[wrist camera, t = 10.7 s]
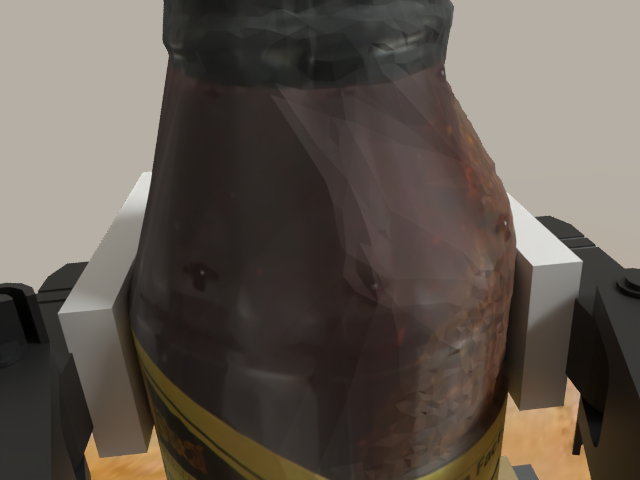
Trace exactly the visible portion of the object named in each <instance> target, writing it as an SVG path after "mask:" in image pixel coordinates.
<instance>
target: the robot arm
mask: <svg viewBox="0 0 640 480" xmlns="http://www.w3.org/2000/svg"><path fill="white" fill-rule="evenodd" d="M151 176H152V172H143V173H142V175H141V177H140V178H139V180H138V182H137V183H136V185H135V187H134V188H133V190H132V191H131V193H130V195H129V196H128V198H127V200H126V202H125V203H124V205H123V206H122V208H121V210H120V212H119V213H118V215H117V217H116V218H115V220H114V221H113V223H112V225H111V226H110V228H109V230H108V231H107V233H106V235H105V236H104V238H103V240H102V241H101V243H100V245H99V246H98V248H97V250H96V251H95V253H94V254H93V256H92V258H91V259H90V261H89V262H80V263H69V264H66V265H65V266H63V267H62V268H60V269H59V270H57V271H56V272H54V273H53V274H51V275H50V276H48V278H47V279H46V280H45V282H44V283H43V285H42V286H41V288H40V289H39V290H38V294H35V293H34V290H33V288H32V287H30V286H27V285H24V284H22V283H3V284H0V480H91V475H90V471H89V468H88V465H87V461H86V458H85V455H84V452H85V449H86V446H87V444H88V441H89V438H90V436H91V433H93V436H94V440H95V443H96V447H97V450H98V453H99V457H100V458H104V457H113V456H122V455H130V454H139V453H147V451H148V447H149V443H150V439H151V434H152V430H153V426H154V421H153V417H152V413H151V409H150V405H149V401H148V397H147V393H146V389H145V385H144V381H143V377H142V373H141V369H140V365H139V360H138V356H137V351H136V347H135V342H134V338H133V333H132V329H131V325H130V319H129V314H128V298H129V291H130V286H131V281H132V276H133V271H134V265H135V260H136V255H137V250H138V244H139V239H140V234H141V229H142V224H143V219H144V214H145V209H146V204H147V199H148V194H149V188H150V183H151ZM506 193H507V192H506ZM507 195H508V198H509V201H510V207H511V211H512V214H513V223H514V228H515V233H516V241H517V243H516V250H517V252H516V258H515V271H514V283H513V294H512V297H511V302H510V310H509V322H508V328H507V333H506V338H507V341H506V351H505V354H506V358H507V362H508V371H509V387H508V392H509V393H510V395H511V397H512V399H513V400H514V402H515V404H516V405H517V407H518V409H519V411H521V410H530V409H539V408H548V407H557V406H564V398H565V391H566V383H567V376H568V378H569V379H570V380H571V382H572V383H573V384H574V386H575V387H576V388H577V390H578V391H579V392H580V394H581V395H580V401H579V408H578V415H577V422H576V429H575V435H574V442H573V452H572V455H580V449H581V445H582V444H583V445H584V449H585V454H586V458H587V462H588V467H589V471H590V476H591V480H640V269H635V268H630V269H629V268H628V269H624V268H623V267H622V266H621V265H620V264H618V263H617V262H616V261H614V260H613V259H612V258H611V257H610V256H609V255H607V254H606V253H605V252H604V251H603V250H601V249H600V248H599V247H596V246H595V244H594V243H593V242H592V241H590V240H589V239H588V238H584V235H583V234H582V233H581V232H579V231H578V230H577V229H576V228H574V227H573V226H572V225H571V224H569V223H566V222H564V221H561V220H559V219H556V218H554V217H551V216H542V217H533V216H532V215H531V214H530V213H529V212H528V211H527V210H526V209H525V208H524V207H522V206H521V205H520V204H519V203H518V202H517V201H516V200H515V199H513V198H512V197H511V196H510V195H509V194H508V193H507Z"/></svg>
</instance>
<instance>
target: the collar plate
mask: <svg viewBox="0 0 640 480" xmlns="http://www.w3.org/2000/svg"><path fill="white" fill-rule="evenodd" d="M498 480H539V479H538V477H537V476H536V474H535V472H534V470H533V468H532V466H531V465H530V464H529V465H520V466H511V464H510V462H509V460H508V458H507V456H501V457H500V466H499V474H498Z"/></svg>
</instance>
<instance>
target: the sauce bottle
mask: <svg viewBox="0 0 640 480" xmlns="http://www.w3.org/2000/svg"><path fill="white" fill-rule="evenodd" d="M453 10H454V6H453V4H452V3H451V1H450V0H164V13H163V43H164V45H165V47H166V49H167V51H168V54H169V60H168V67H167V74H166V81H165V87H164V95H163V101H162V108H161V115H160V123H159V129H158V136H157V143H156V149H155V156H154V163H153V169H152V176H151V183H150V188H149V194H148V199H147V204H146V209H145V214H144V219H143V224H142V229H141V234H140V239H139V244H138V250H137V255H136V260H135V265H134V271H133V276H132V281H131V286H130V291H129V298H128V314H129V319H130V325H131V329H132V333H133V338H134V342H135V347H136V351H137V356H138V360H139V365H140V369H141V373H142V377H143V381H144V385H145V389H146V393H147V397H148V401H149V405H150V409H151V413H152V417H153V421H154V425H155V429H156V433H157V438H158V442H159V446H160V450H161V455H162V459H163V463H164V468H165V472H166V477H167V480H498V474H499V466H500V457H501V449H502V440H503V432H504V423H505V414H506V406H507V397H508V387H509V371H508V362H507V358H506V354H505V351H506V341H507V338H506V333H507V328H508V322H509V310H510V302H511V297H512V294H513V283H514V271H515V258H516V252H517V250H516V243H517V241H516V233H515V228H514V223H513V214H512V211H511V207H510V201H509V198H508V195H507V193H506V191H505V189H504V186H503V183H502V181H501V179H500V178H499V177H498V176H497V174H496V171H495V163H494V162H493V161H492V159H491V158H490V157H489V155H488V154H487V152H486V150H485V149H484V147H483V146H482V143H481V141H480V139H479V137H478V135H477V133H476V132H475V130H474V128H473V126H472V124H471V122H470V121H469V120H468V119H467V116H466V114H465V112H464V111H463V110H462V108H461V106H460V104H459V102H458V100H457V99H456V98H455V96H454V94H453V92H452V89H451V86H450V85H449V83H448V82H447V81H446V75H445V67H444V64H445V59H446V51H447V44H448V38H449V32H450V28H451V26H452V19H453Z"/></svg>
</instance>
